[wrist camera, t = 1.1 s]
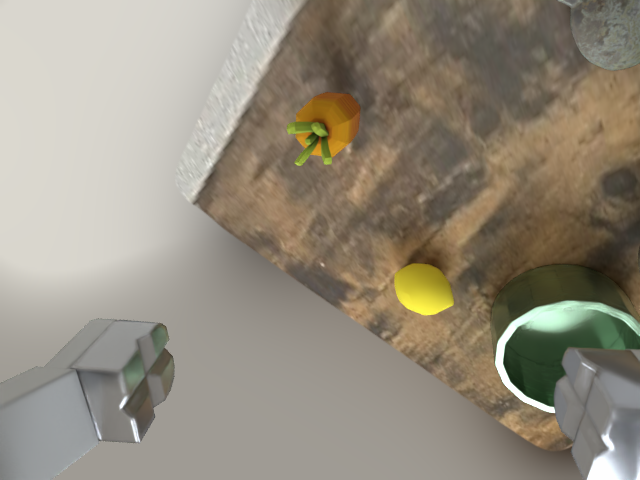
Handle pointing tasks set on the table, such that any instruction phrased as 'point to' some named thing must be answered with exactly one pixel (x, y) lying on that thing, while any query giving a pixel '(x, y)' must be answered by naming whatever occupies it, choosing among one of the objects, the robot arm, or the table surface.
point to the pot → (556, 326)
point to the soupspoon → (607, 31)
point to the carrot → (326, 125)
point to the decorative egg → (639, 259)
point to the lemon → (423, 289)
